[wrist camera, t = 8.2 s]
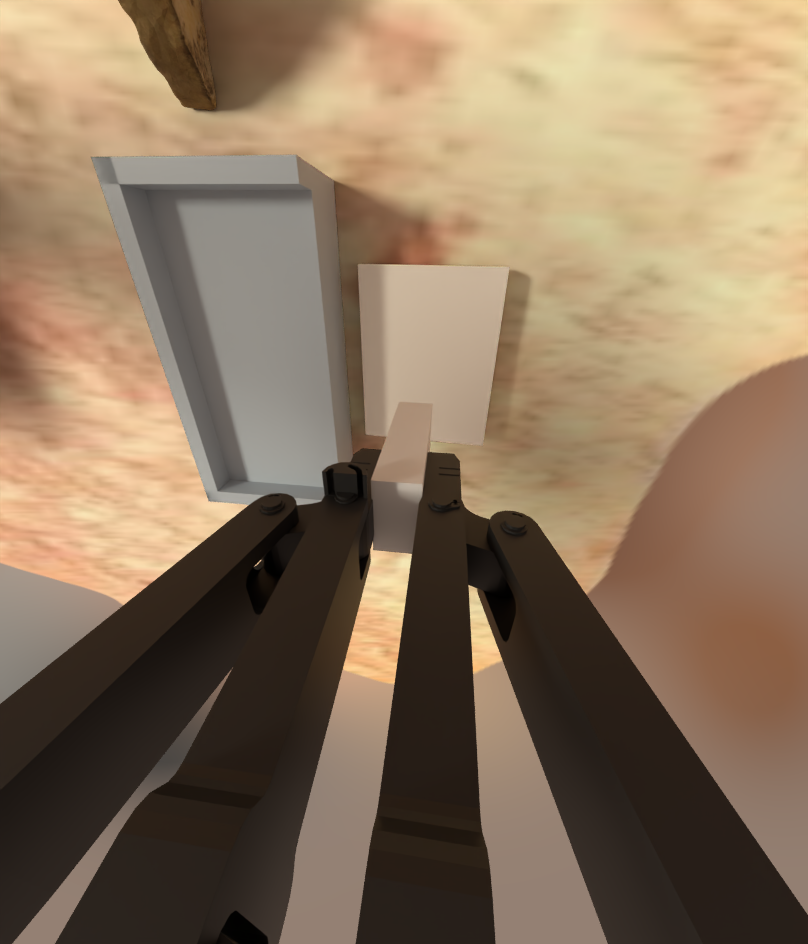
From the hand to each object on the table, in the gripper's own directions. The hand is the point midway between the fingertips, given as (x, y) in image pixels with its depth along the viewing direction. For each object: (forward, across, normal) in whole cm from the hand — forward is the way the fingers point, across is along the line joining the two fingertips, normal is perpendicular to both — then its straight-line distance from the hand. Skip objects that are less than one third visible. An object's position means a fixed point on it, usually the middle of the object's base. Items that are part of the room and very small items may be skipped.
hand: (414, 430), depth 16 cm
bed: (+16, -14, -1) cm, 21 cm away
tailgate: (+16, -6, -1) cm, 17 cm away
